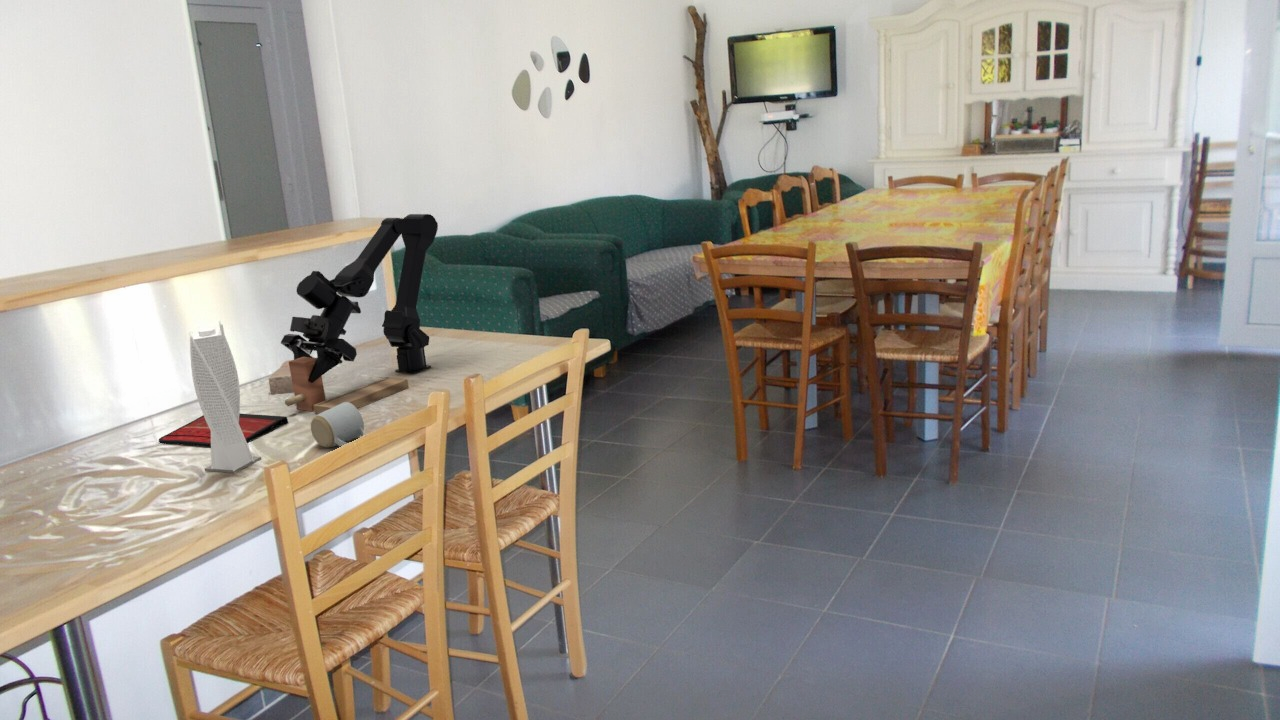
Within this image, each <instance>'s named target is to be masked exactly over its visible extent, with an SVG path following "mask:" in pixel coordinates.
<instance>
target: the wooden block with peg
mask: <svg viewBox="0 0 1280 720" xmlns="http://www.w3.org/2000/svg"><path fill="white" fill-rule="evenodd" d="M291 360H292V361H289V367H290V372H291V378H292V383H293V389H294V393H293V395H294V396H292V397H288V398H286V399H285V401H284V404H285V406H287V407H291V406H293V405H296V409H297V410H300V411H302V410H303V411H306V412H314V406H313V405H315V404H318V403H320V402H323V401H326V400H327V399H326V395H325V394H326V393H325V387H324V382H323V375H322V376H321V377H319V378H318V379H317V380H316V381H314V382H313V383H311V382H309V381H308V379H309V376H310V373H311V371H312V369H313V367H314V364H315V362H316V360H317V357H315V358H311V357H301V358H298V359H295V360H294V359H291Z"/></svg>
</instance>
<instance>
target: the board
mask: <svg viewBox="0 0 1280 720" xmlns="http://www.w3.org/2000/svg"><path fill="white" fill-rule="evenodd" d="M408 388H409V382H408V379H406V378H398V377H390V376H389V377H388V376H387V377H384V378H382V379H378V380H376V381H373V382H370V383H368V384H366V385H363V386H360V387H357V388H355V389H352V390H349V391H346V392H344V393H341V394H339V395H337V396H333V397H331V398H328V399H326V401H323V402H320V403H318V404H315V405H313V406H314V411H313V412H314V415H318V414H320V413H322V412H324V411H326V410H328V409H331V408H333V407H335V406H337V405H339V404H341V403H344V402H349V403H351V404H353V405H354V406H355V407H356V408H357V409H359V408H361V407H362V408H363V407H365V406H366V405H369V404H371V403H374V402H376V401H378V400H381V399H383V398H386V397H389V396H392V395H393V394H396V393H399V392H401V391H403V390H406V389H408Z"/></svg>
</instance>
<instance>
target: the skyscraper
mask: <svg viewBox="0 0 1280 720" xmlns="http://www.w3.org/2000/svg"><path fill="white" fill-rule="evenodd" d="M218 326H219V329H218V330H216V327H208V328H207V327H206V328H202V329H199V330H198V331H197V333H193V332H192V331H190V332H189V334H188V335H189V351H190V352H189V353H190V354H189V355H190V368H191V377H192V381H193V387H194V391H195V396H196V397H197V398H196V399H197V402H198V404H199V406H200V410H201V412H202V416H203V415H204V418H205V420H206V422H207V424H208V426H209V428H210V430H211V447H210V464H211V465H209V466H207V467H206V468H204V471H205V472H216V473H217V472H218V473H228V474H229V473H230V474H235V473H236V474H237V473H238V472H240V471H242V470H244V469H246V468H248V467H249V466H251V465H253V464H254V463H256V462H258V461H259V462H260V461H261V460H262V457H261V456H254V455H253V454H252V452H251V449H250V447H249V445H248V442H246V439H245V437H244V435H243V432H242V430H241V428H240V426H239V413H240V411H241V390H240V389H241V388H240V387H241V386H240V381H239V374H238V370H237V365H236V362H235V358H234V355H233V354H232V350H231V348H230V345H229V342H228V341H227V340H228V339H227V337H226V335H225V331H224V324H223V321H222V320H221V319H220V320H218ZM240 414H241V413H240Z"/></svg>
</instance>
